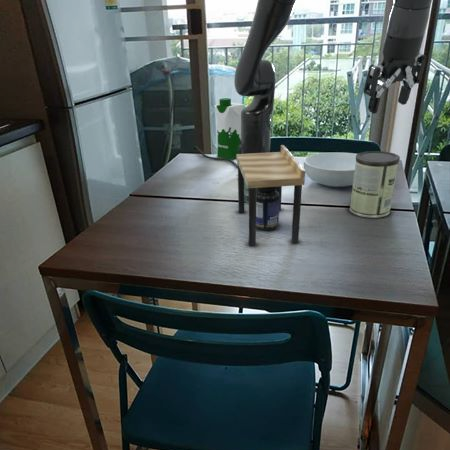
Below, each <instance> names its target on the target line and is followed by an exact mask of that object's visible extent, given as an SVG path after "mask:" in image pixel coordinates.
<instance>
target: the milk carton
mask: <svg viewBox="0 0 450 450" xmlns="http://www.w3.org/2000/svg"><path fill="white" fill-rule="evenodd" d="M218 102H219V104H215V105H213V107H214V112H215V116H216V133H217V134H216V136H217V139H216V140H217V154H216V155H217V156H216V158H225V159H229V160H232V161H233V160H236V154H239V145H241V111H242V110H243V109H244V108H245V104H244V103H236V102H232V99H231V98H230V97H229V98H228V97H227V98H226V97H225V98H219V101H218Z"/></svg>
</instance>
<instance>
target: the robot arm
mask: <svg viewBox="0 0 450 450" xmlns="http://www.w3.org/2000/svg"><path fill="white" fill-rule="evenodd" d="M432 3H433V0H393V5H392V9H391V12H390V14H389V18H388V23H387V28H386V33H385V36H384V40H383V41H384V42H383V46H382V56H383V59H382V61H381V63H380V64H378V65H375V64H370V65H369V67H368V69H367V74H366V78H365V83H364V86H363V90H362V91H363V93H364V94H365V95H367V96H369V100H368V105H367V110H368V111H369V112H370V113H371V114H373V115H375V114H377V113H378V110H379V107H380V102H381V96H382V94H383V93H384V92H385V91H386V90H388V89H389V87H390V86H391V85H392V84H395V83H398V82H401V83H402V85H401V87H400V91H399V95H398V98H397V102H398V103H399V104H400V105H402V106H403V105H404V106H405V105H407V103H408V101H409V99H410V95H411V92H412V89H413V87H414V86H415V85H416V84H420V83H421V82H422V79H423V75H424V70H425V66H426V62H427V55H425V54H423V53H421V48H422V46H423V45H422V44H423V41H424V38H425V34H426V30H427V27H428V23H429V19H430V13H431V6H432ZM296 4H297V0H257V3H256V8H255V12H254V15H253V19H252V23H251V26H250V29H249V32H248V36H247V38H246V41H245V44H244V47H243V49H242V52H241V54H240V57H239V59H238V63H237V65H236V67H235V68H236V69H235V72H234V82H233V83H234V87H235V91H236V93H237V94H238V95H239V96H241V97H253V99H252V100H251V101H250V102H249V104H248V105H246V106H244V108H243V110H242V111H241V145H239V154H251V153H270V152H271V136H272V113H273V110H274V106H275V104H274V103H275V92H276V71H275V67H274V65H273V63H272V62H271V61H270V60H268V59H263V58H264V56H265V53H266V52H267V50H268V49H269V47H270V46H271V45H272V44H273V42H275V40H276V39H277V38H278V37H279V35H281V33H282V32H283V31H284V29H285V28H286V27H287V25H288V24H289V22H290V20H291V17H292V15H293V12H294V9H295V6H296ZM382 80H384V81H385V82H384V81H382ZM193 150H197V151H198V153H200V155H202V157H204V158H206V159H209V160H214V161H215V160H216V161H225V162H229V163H231V164H232V165H233V166H234V167H236V168H237V169H238V163H237V162H236V163H235V161H234V160H233V159H232V160H230V159H226V158H221V157H214V156H209V155H206V154H205V153H204V152H203V151H202V150H201V149H200V148H199V147H198V146H196V145H195V146H194V147H193Z"/></svg>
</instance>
